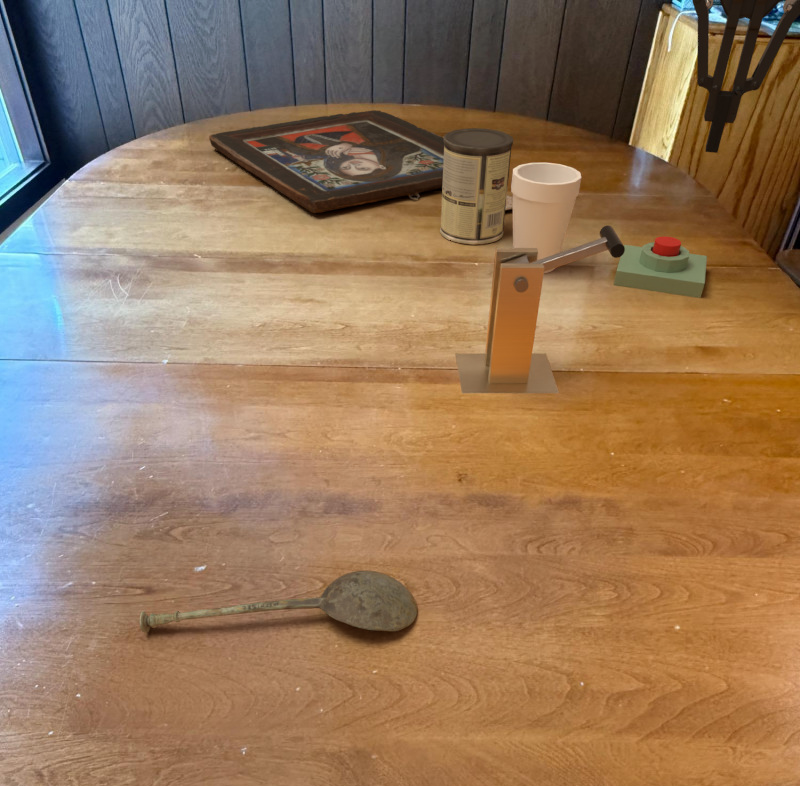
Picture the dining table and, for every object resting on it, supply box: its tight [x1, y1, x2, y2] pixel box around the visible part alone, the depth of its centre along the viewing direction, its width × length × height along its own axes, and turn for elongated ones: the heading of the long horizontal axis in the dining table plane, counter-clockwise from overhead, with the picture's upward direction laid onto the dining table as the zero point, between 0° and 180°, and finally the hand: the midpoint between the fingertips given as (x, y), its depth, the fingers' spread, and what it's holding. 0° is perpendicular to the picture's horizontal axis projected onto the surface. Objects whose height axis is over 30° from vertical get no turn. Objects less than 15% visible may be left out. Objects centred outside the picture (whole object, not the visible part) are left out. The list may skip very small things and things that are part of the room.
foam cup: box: [510, 161, 582, 274], centre depth 111 cm, size 10×9×13 cm
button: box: [652, 236, 682, 257], centre depth 110 cm, size 4×4×2 cm
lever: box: [503, 225, 625, 272], centre depth 81 cm, size 12×5×2 cm, turn 92°
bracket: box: [454, 247, 560, 395], centre depth 85 cm, size 11×9×15 cm
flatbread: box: [505, 195, 513, 212], centre depth 133 cm, size 8×8×1 cm
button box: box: [613, 241, 708, 299], centre depth 111 cm, size 12×10×4 cm
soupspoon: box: [138, 570, 419, 634], centre depth 62 cm, size 22×3×7 cm
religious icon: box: [208, 110, 444, 214], centre depth 148 cm, size 40×45×3 cm
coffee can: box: [439, 127, 514, 245], centre depth 119 cm, size 10×10×14 cm
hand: (711, 149), depth 101 cm, fingers closed
